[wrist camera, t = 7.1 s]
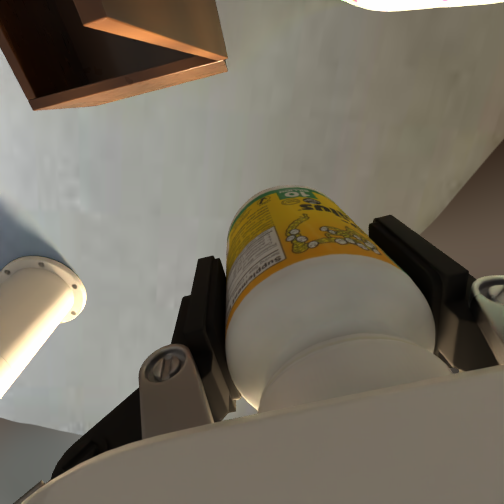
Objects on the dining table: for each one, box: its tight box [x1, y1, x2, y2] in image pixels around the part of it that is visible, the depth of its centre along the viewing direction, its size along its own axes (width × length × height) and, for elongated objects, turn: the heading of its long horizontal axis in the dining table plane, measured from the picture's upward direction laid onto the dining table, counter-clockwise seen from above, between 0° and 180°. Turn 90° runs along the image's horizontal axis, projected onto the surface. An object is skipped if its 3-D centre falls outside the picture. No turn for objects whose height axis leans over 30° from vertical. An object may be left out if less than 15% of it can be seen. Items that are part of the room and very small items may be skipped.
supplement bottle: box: [225, 186, 453, 414], centre depth 9 cm, size 5×5×10 cm
